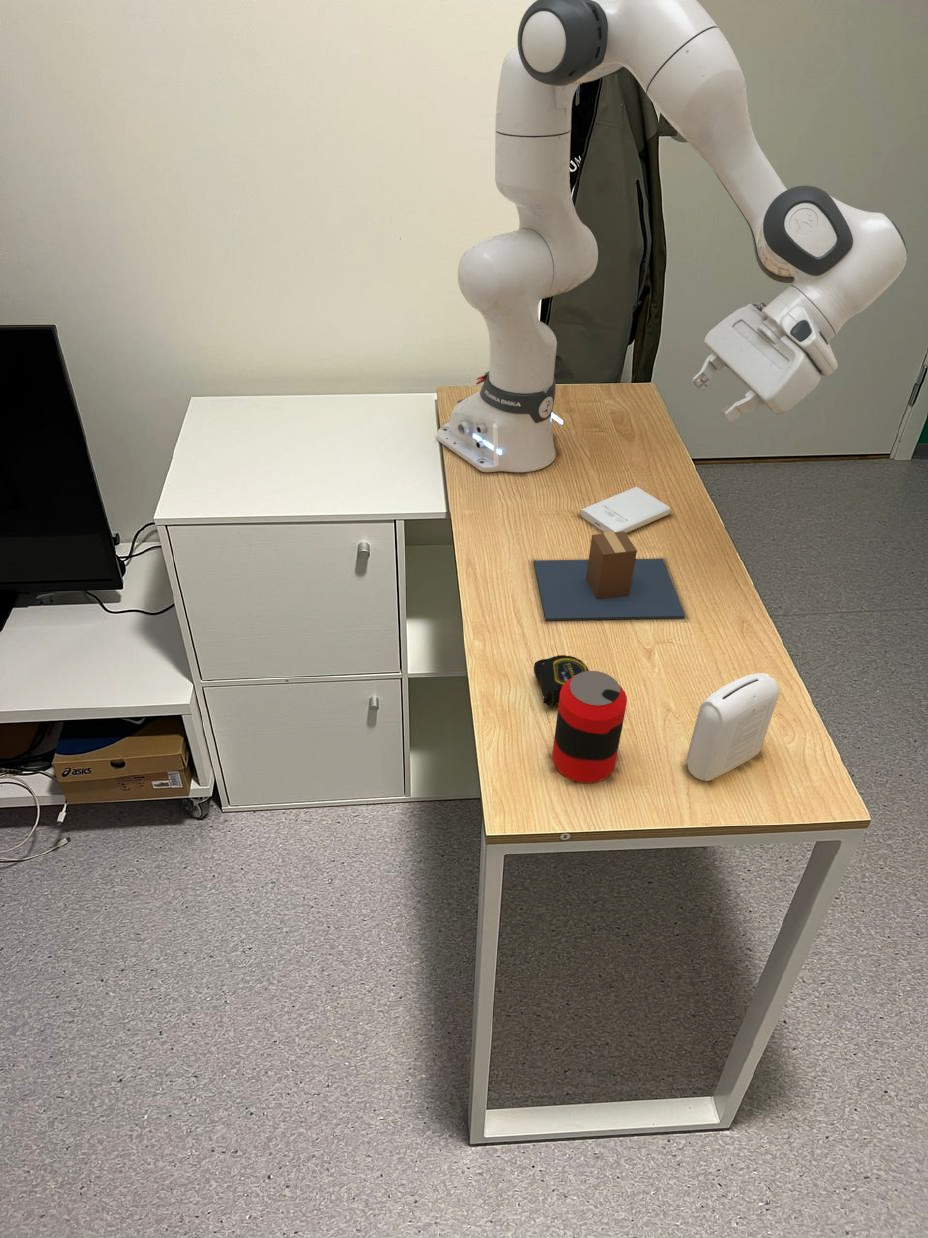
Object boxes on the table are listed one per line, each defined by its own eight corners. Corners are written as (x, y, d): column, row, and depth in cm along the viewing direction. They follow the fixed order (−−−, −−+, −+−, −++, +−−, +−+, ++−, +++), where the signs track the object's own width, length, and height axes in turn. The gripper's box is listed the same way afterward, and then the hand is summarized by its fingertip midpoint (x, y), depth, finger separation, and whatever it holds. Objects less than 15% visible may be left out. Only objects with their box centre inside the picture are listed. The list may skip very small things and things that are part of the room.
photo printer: (739, 732, 120) (761, 657, 112) (765, 753, 117) (789, 679, 109) (678, 765, 115) (697, 689, 108) (704, 788, 113) (725, 712, 105)
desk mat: (545, 621, 136) (546, 618, 136) (533, 563, 147) (533, 560, 146) (684, 618, 137) (685, 615, 137) (662, 561, 148) (662, 558, 148)
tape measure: (531, 675, 127) (533, 654, 125) (581, 672, 128) (584, 650, 125) (541, 712, 122) (544, 690, 119) (594, 708, 123) (597, 686, 120)
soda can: (597, 794, 111) (610, 721, 104) (540, 767, 114) (549, 694, 107) (625, 754, 117) (639, 681, 109) (569, 729, 120) (580, 656, 112)
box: (585, 579, 143) (591, 533, 138) (617, 575, 144) (624, 530, 139) (597, 599, 139) (603, 554, 134) (629, 595, 140) (637, 550, 135)
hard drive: (669, 515, 158) (614, 539, 152) (634, 493, 163) (579, 515, 157) (670, 507, 157) (615, 531, 151) (635, 485, 162) (580, 507, 156)
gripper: (746, 282, 132) (668, 354, 136) (821, 342, 117) (731, 421, 121) (768, 312, 136) (691, 381, 140) (844, 374, 120) (756, 450, 125)
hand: (710, 401), depth 130 cm, fingers open, 8 cm apart
